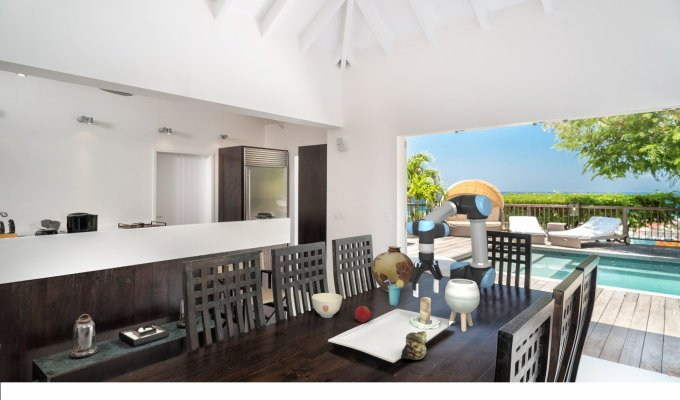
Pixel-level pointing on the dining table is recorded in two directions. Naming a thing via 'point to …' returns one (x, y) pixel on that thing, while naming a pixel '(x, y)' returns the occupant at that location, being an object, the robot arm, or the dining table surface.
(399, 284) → the cup
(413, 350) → the seashell
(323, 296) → the bowl
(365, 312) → the apple
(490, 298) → the dining table surface
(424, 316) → the tan wooden block
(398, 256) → the vase
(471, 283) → the planter
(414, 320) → the dish
